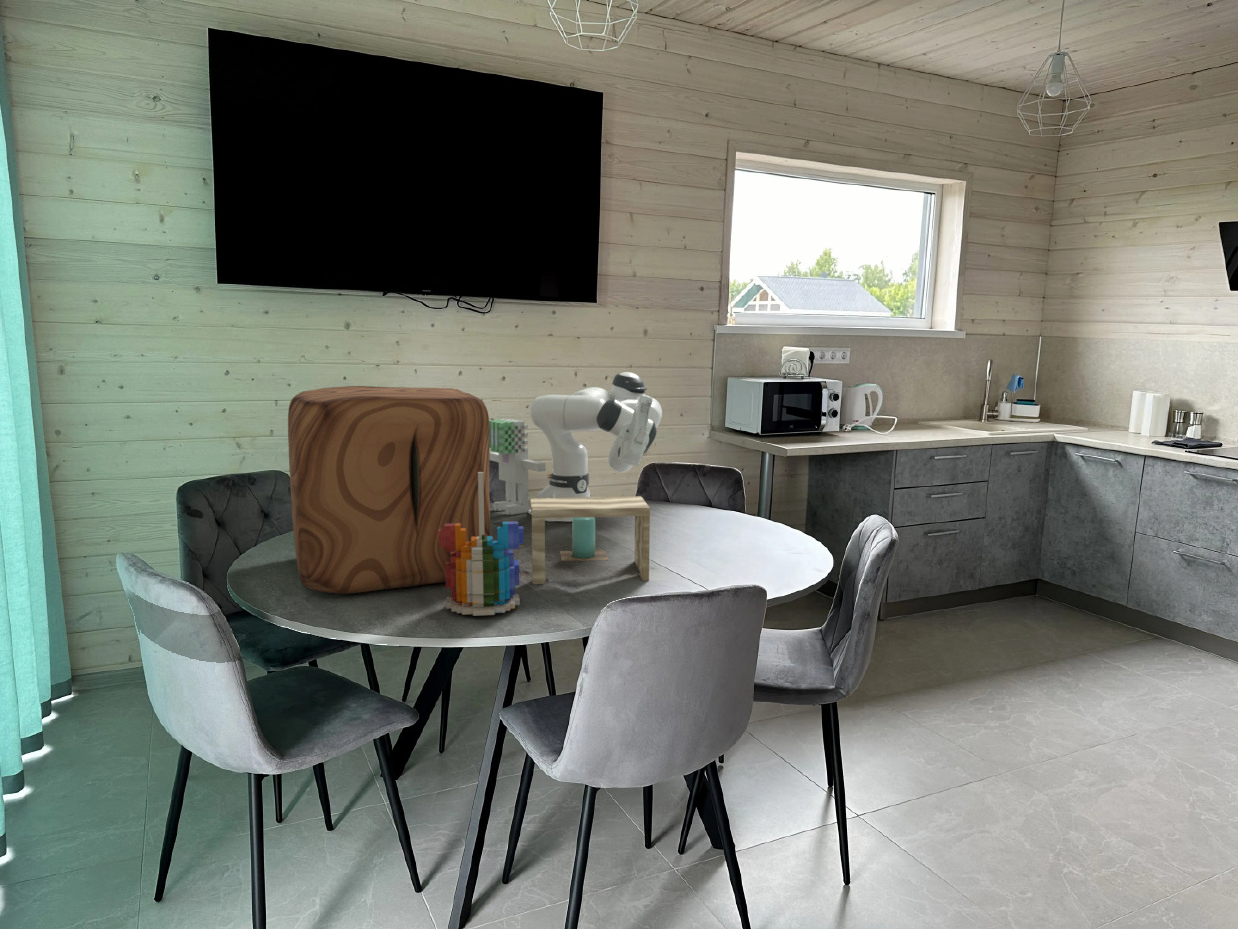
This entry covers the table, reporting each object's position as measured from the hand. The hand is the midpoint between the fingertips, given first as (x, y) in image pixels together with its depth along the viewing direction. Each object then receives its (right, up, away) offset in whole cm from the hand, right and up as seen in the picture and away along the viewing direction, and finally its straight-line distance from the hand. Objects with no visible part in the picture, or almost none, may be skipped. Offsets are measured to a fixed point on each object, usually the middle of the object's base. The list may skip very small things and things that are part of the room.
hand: (647, 415), depth 241 cm
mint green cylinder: (-17, -38, -11) cm, 42 cm away
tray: (-17, -39, -10) cm, 43 cm away
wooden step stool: (-15, -41, -24) cm, 50 cm away
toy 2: (-44, -29, +47) cm, 71 cm away
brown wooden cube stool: (-65, -40, -21) cm, 79 cm away
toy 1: (-37, -45, -51) cm, 77 cm away
